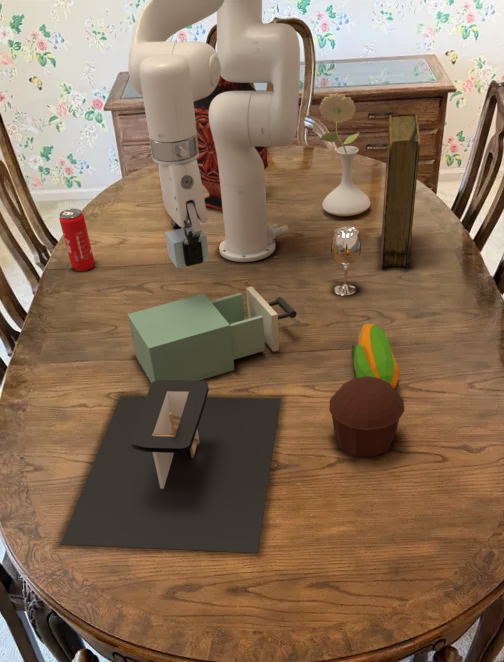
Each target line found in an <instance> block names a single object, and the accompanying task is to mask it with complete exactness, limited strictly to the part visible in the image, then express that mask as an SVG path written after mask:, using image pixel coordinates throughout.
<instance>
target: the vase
mask: <svg viewBox="0 0 504 662" xmlns="http://www.w3.org/2000/svg"><path fill="white" fill-rule="evenodd" d="M228 91H257V90H256V88H254V87H253V86H252V84H251V83H238V82H230V81H226V80H225V79H223V78H222V77H221V75H220V79H219V82H218V84H217V86H216V88H215V89H214V91H213V92H212V93H211V94H210V95H208V96H207V97H205V98H202V99H199V100H197V101H194V102H193V103H194V113H195V122H196V131H197V139H198V149H199V157H198V158H197V159H196V160H197V163H198V167H199V172H200V176H201V182H202V187H204V189H206V191H207V192H208V194H209V195H208V196H207V197H204V200H205V207H206V208H210V209H215V210H218V211H222V212H223V208H222V198H221V188H220V178H219V168H218V160H217V153H216V148H215V144H214V140H213V136H212V132H211V128H210V124H209V107H210V104H211V102H212V100H213V99H214V98H215V97H216V96H217V95H219V94H221V93H223V92H228ZM254 148H255V149H256V150H257V152H258V154H259V155H260V157H261V159H262V161H263V164H264V169H265V170H266V169H267V168H268V167H269V162H268V147H262V146H254Z"/></svg>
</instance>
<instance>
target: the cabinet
mask: <svg viewBox="0 0 504 662" xmlns="http://www.w3.org/2000/svg"><path fill="white" fill-rule="evenodd" d="M211 301H212V300H210V298H208V297H207V295H206V293H204V292H203V293H199V294H195V295H192V296H189V297H185V298H181V299H177V300H174V301H170V302H167V303H164V304H163V303H162V304H159V305H156V306H152V307H147V308H144V309H141V310H138V311H133V312H130V313H127V320H128V324H129V329H130V334H131V338H132V343H133V347H134V353H135V358H136V360H137V361H138V363H139V364H140V366H141V368H142V369H143V372H144V373H145V375H146V376H147V378H148V380H149V381H150V384H151V383H152V382H154V381H156V380H201V381H204V380H206V379H209V378H212V377H215V376H220V375H222V374H226V373H229V372H232V371H235V362H234V361H235V360H233V350H232V340H231V330H230V324H229V323H228V322H227V321H226V320H225V318H224V317H223V316H222V315H221V313H220V312H219V311H218V310H217V309H216V307H215V306H214V305H213V304H212V302H211Z"/></svg>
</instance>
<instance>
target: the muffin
mask: <svg viewBox="0 0 504 662" xmlns="http://www.w3.org/2000/svg"><path fill="white" fill-rule="evenodd" d="M404 412H405V402H404V398H402V396H401V395H400V393H398V391H396V390H395V389H394V388H393V387H392V386H391V385H390V384H389V383H388V382H386V381H384V380H381V379H379V378H376V377H369V376H365V377H358V378H356V377H354V378H352V379H350V380H349V381H347V382H345V383H343V384H342V385H341V386H340V387H339V388H338V390H336V392H335V393H333V395H332V397H331V398H330V399H329V413H330V414H331V418H332V424H333V429H334V436H335V440H336V441H337V443H338V444H339V447H340V450H341V451H344V452H346V453H349V454H351V455H353V456H354V457H357V458H358V457H372V458H375V457H376V456H378V455H380V454H382V453H384V452H385V453H386V452H387V451H389V450H390V448H391V447H390V446H391V444H392V443H393V441H394V438H395V435H396V432H397V429H398V425H399V422H400V418H401V417H402V415H403V414H404Z"/></svg>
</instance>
